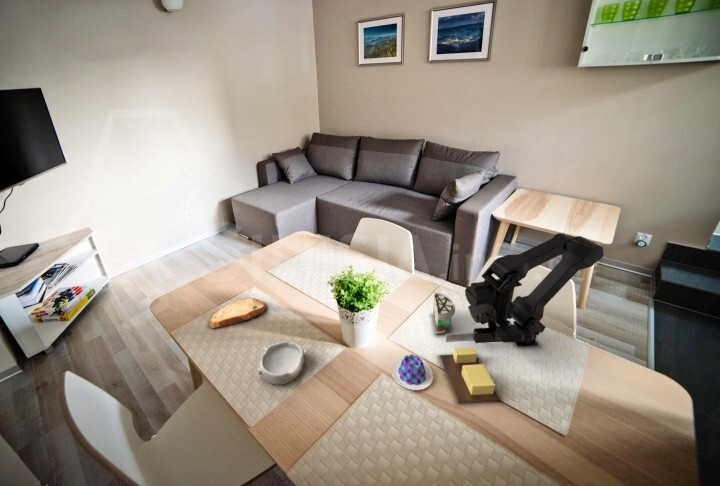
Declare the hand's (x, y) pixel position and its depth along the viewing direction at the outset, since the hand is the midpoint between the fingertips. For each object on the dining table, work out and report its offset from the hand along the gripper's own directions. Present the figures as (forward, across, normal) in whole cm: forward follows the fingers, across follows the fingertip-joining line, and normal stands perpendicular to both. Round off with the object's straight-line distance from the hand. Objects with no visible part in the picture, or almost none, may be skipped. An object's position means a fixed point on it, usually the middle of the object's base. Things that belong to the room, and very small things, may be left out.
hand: (493, 337), depth 104 cm
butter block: (+3, +14, -11) cm, 18 cm away
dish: (+4, +4, -68) cm, 68 cm away
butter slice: (+3, +6, -11) cm, 13 cm away
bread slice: (+4, -22, -88) cm, 91 cm away
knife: (+1, 0, -5) cm, 5 cm away
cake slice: (+4, -10, -12) cm, 16 cm away
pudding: (+4, +9, -28) cm, 30 cm away
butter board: (+4, +11, -13) cm, 17 cm away
